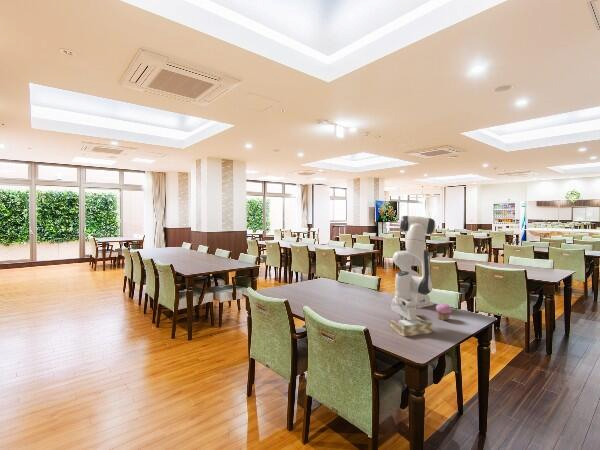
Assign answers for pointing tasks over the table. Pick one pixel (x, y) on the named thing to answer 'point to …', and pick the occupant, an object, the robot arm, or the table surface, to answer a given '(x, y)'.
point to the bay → (412, 328)
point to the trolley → (408, 322)
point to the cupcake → (443, 311)
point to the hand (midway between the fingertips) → (403, 323)
